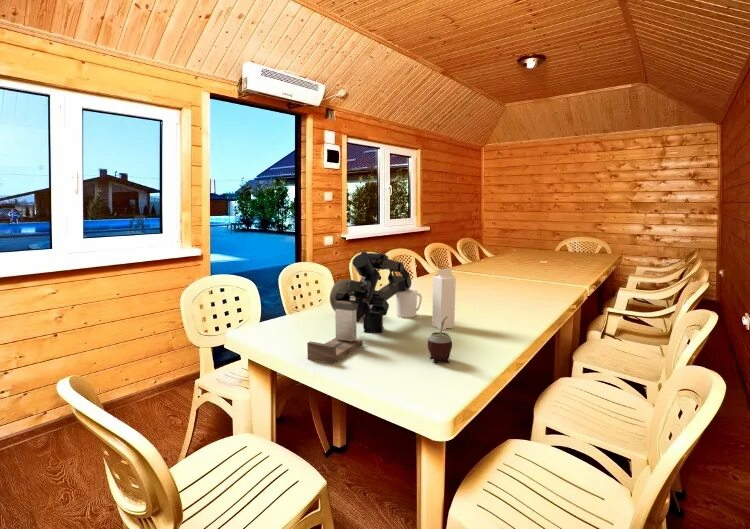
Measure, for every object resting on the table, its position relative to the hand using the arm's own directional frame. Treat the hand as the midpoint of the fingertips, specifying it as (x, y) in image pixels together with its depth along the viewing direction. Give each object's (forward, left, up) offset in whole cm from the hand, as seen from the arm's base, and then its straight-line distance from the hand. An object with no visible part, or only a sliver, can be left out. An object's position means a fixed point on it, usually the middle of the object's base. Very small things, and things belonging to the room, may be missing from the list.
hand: (353, 323), depth 144 cm
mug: (-16, -36, -7) cm, 40 cm away
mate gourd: (-29, +14, -7) cm, 33 cm away
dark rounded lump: (+9, -33, -7) cm, 35 cm away
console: (+3, +11, -6) cm, 13 cm away
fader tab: (+1, +5, -4) cm, 6 cm away
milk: (-30, -22, -7) cm, 38 cm away
